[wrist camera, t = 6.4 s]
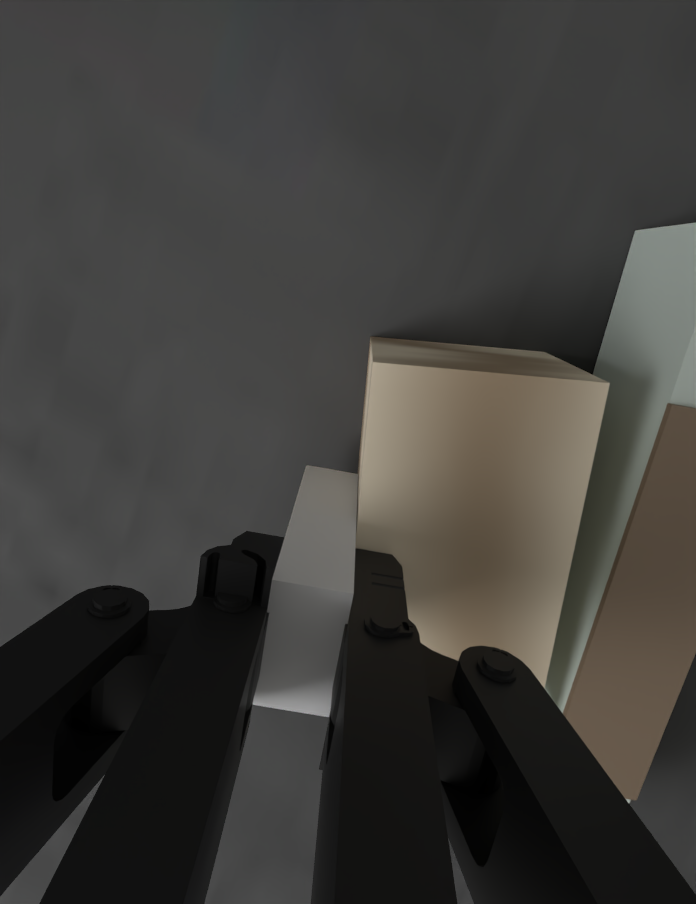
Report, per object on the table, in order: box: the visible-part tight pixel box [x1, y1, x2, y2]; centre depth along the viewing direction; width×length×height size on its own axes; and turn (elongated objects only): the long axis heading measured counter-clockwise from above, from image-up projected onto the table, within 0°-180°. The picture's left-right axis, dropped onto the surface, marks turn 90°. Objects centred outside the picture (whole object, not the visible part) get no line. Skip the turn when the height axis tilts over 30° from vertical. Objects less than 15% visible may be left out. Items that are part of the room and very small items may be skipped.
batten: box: [544, 223, 696, 803], centre depth 17 cm, size 2×18×5 cm, turn 170°
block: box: [355, 337, 610, 688], centre depth 16 cm, size 5×9×5 cm, turn 175°
